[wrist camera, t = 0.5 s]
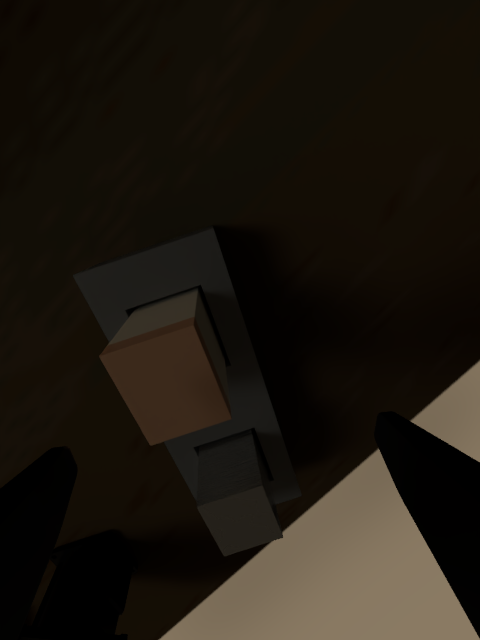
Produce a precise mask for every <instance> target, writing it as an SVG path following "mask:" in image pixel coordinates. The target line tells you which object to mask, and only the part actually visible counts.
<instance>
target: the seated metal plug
mask: <svg viewBox="0 0 480 640" xmlns="http://www.w3.org/2000/svg"><path fill="white" fill-rule="evenodd" d="M197 508H198V510H199V512H200V514H201V516H202V518H203V519H204V521H205V523H206V525H207V527H208V528H209V530H210V532H211V534H212V536H213V537H214V539H215V541H216V543H217V545H218V546H219V548H220V550H221V552H222V554H223V555H224V556H227V555H231V554H234V553H237V552H240V551H243V550H246V549H249V548H252V547H255V546H258V545H261V544H264V543H268V542H271V541H274V540H277V539H280V538H283V535H282V530H281V526H280V522H279V517H278V513H277V509H276V505H275V500H274V496H273V492H272V487H271V483H270V479H269V475H268V470H267V466H266V462H265V458H264V453H263V449H262V447H261V444H260V441H259V439H258V436H257V433H256V431H255V428H251V429H248V430H245V431H242V432H239V433H236V434H233V435H230V436H227V437H224V438H221V439H218V440H215V441H212V442H209V443H205V444H202V445H199V458H198V485H197Z"/></svg>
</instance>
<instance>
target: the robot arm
mask: <svg viewBox="0 0 480 640" xmlns="http://www.w3.org/2000/svg"><path fill="white" fill-rule="evenodd" d="M374 436H375V440H376V443H377V445H378V447H379V450H380V452H381V454H382V456H383V459H384V461H385V463H386V465H387V468H388V470H389V472H390V474H391V477H392V479H393V481H394V483H395V486H396V488H397V490H398V492H399V494H400V496H401V498H402V500H403V502H404V504H405V505H406V507H407V509H408V511H409V513H410V514H411V516H412V518H413V520H414V522H415V523H416V525H417V527H418V529H419V531H420V532H421V534H422V536H423V538H424V540H425V541H426V543H427V545H428V547H429V548H430V550H431V552H432V554H433V556H434V557H435V559H436V561H437V563H438V565H439V566H440V568H441V570H442V572H443V574H444V575H445V577H446V578H447V581H448V583H449V584H450V586H451V588H452V590H453V591H454V593H455V595H456V597H457V599H458V600H459V602H460V604H461V606H462V608H463V609H464V611H465V613H466V615H467V616H468V618H469V620H470V622H471V623H472V626H473V627H474V629H475V631H476V632H477V635H478V636H479V638H480V462H478V461H476V460H475V459H473V458H471V457H470V456H468V455H466V454H464V453H463V452H461V451H459V450H458V449H456V448H454V447H453V446H451V445H449V444H448V443H446V442H444V441H442V440H441V439H439V438H437V437H436V436H434V435H432V434H431V433H429V432H427V431H426V430H424V429H422V428H420V427H419V426H417V425H415V424H414V423H412V422H410V421H409V420H407V419H405V418H404V417H402V416H400V415H399V414H397V413H395V412H392V411H390V412H381V413H379V414H378V416H377V421H376V426H375V432H374ZM76 476H77V464H76V462H75V460H74V458H73V455H72V453H71V451H70V449H69V448H68V447H66V446H64V447H54V448H51V449H50V450H48V451H47V452H46V453H44V454H43V455H42V456H41V457H39V458H38V459H37V460H36V461H34V462H33V463H32V464H31V465H29V466H28V467H27V468H26V469H24V470H23V471H22V472H21V473H19V474H18V475H17V476H16V477H14V478H13V479H12V480H11V481H9V482H8V483H7V484H6V485H4V486H3V487H2V488H1V489H0V640H127V636H128V635H127V634H121V635H115V630H116V626H117V621H118V617H119V615H122V613H123V611H124V608H125V603H126V598H127V594H128V589H129V584H130V579H131V575H132V574H135V573H136V572H137V570H138V565H137V563H136V562H135V561H134V560H133V558H132V557H131V556H130V554H129V553H128V552H127V550H126V549H125V548H124V546H123V545H122V544H121V543H120V541H119V540H118V539H117V537H116V536H115V535H114V533H112V532H106V533H102V534H99V535H96V536H93V537H90V538H87V539H84V540H81V541H78V542H75V543H72V544H69V545H66V546H63V547H60V548H56V549H54V547H55V544H56V541H57V539H58V536H59V533H60V530H61V527H62V524H63V520H64V517H65V514H66V510H67V507H68V503H69V500H70V497H71V493H72V490H73V486H74V483H75V480H76ZM49 559H50V560H51V561H52V562H53V563H54V564H55V565H56V566H57V568H56V570H55V572H54V575H53V577H52V579H51V582H50V584H49V586H48V589H47V591H46V593H45V596H44V598H43V600H42V603H41V605H40V607H39V610H38V612H37V614H36V617H35V619H34V621H33V624H32V626H27V624H24V622H25V620H26V617H27V615H28V612H29V610H30V607H31V605H32V602H33V600H34V597H35V594H36V592H37V589H38V587H39V584H40V582H41V579H42V577H43V574H44V572H45V569H46V567H47V564H48V562H49Z"/></svg>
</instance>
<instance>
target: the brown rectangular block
mask: <svg viewBox="0 0 480 640" xmlns="http://www.w3.org/2000/svg"><path fill="white" fill-rule="evenodd" d="M99 357H100V359H101V361H102V362H103V364H104V366H105V368H106V369H107V371H108V373H109V374H110V376H111V378H112V380H113V381H114V383H115V385H116V387H117V388H118V390H119V392H120V394H121V395H122V397H123V399H124V401H125V402H126V404H127V406H128V407H129V409H130V411H131V413H132V414H133V416H134V418H135V420H136V421H137V423H138V425H139V427H140V428H141V430H142V432H143V434H144V435H145V437H146V439H147V441H148V442H149V444H150V446H151V445H154V444H157V443H161V442H164V441H167V440H170V439H173V438H176V437H179V436H182V435H185V434H188V433H191V432H194V431H197V430H200V429H203V428H206V427H209V426H212V425H215V424H218V423H221V422H224V421H227V420H230V419H232V416H231V408H230V399H229V391H228V383H227V374H226V366H225V357H224V349H223V342H222V340H221V337H220V334H219V332H218V329H217V326H216V324H215V321H214V318H213V316H212V313H211V310H210V308H209V305H208V302H207V300H206V297H205V294H204V292H203V289H202V286H201V285H199V286H196V287H193V288H190V289H187V290H184V291H181V292H178V293H175V294H172V295H169V296H166V297H163V298H160V299H157V300H154V301H151V302H148V303H145V304H142V305H139V306H137V307H136V309H135V310H134V311H133V313H132V314H131V315H130V317H129V318H128V319H127V321H126V322H125V323H124V324H123V326H122V327H121V328H120V330H119V331H118V332H117V334H116V335H115V336H114V338H113V339H112V340H111V341H110V343H109V344H108V345H107V347H106V348H105V349H104V351H103V352H102V353H101V355H100V356H99Z"/></svg>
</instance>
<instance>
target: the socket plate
mask: <svg viewBox="0 0 480 640" xmlns="http://www.w3.org/2000/svg"><path fill="white" fill-rule="evenodd" d="M73 277H74V279H75V280H76V282H77V284H78V286H79V288H80V290H81V291H82V293H83V295H84V297H85V299H86V301H87V302H88V304H89V306H90V308H91V310H92V311H93V313H94V315H95V317H96V319H97V321H98V322H99V324H100V326H101V328H102V330H103V332H104V333H105V335H106V337H107V339H108V341H109V343H110V341H111V340H112V339H113V338H114V336H115V335H116V334H117V332H118V331H119V330H120V328H121V327H122V326H123V324H124V323H125V322H126V321H127V319H128V318H129V317H130V315H131V314H132V313H133V311H134V310H135V309H136V307H137V306H139V305H142V304H145V303H148V302H151V301H154V300H157V299H160V298H163V297H166V296H169V295H172V294H175V293H178V292H181V291H184V290H187V289H190V288H193V287H196V286H199V285H201V286H202V289H203V292H204V294H205V297H206V300H207V302H208V305H209V308H210V310H211V313H212V316H213V318H214V321H215V324H216V326H217V329H218V332H219V334H220V337H221V340H222V342H223V349H224V357H225V366H226V374H227V383H228V391H229V399H230V408H231V416H232V419H230V420H227V421H224V422H221V423H218V424H215V425H212V426H209V427H206V428H203V429H200V430H197V431H194V432H191V433H188V434H185V435H182V436H179V437H176V438H173V439H170V440H167V441H164V443H165V445H166V447H167V448H168V450H169V452H170V454H171V456H172V458H173V459H174V461H175V463H176V465H177V467H178V469H179V470H180V472H181V474H182V476H183V478H184V480H185V481H186V483H187V485H188V487H189V489H190V491H191V492H192V494H193V496H194V498H195V500H196V501H197V485H198V458H199V445H202V444H205V443H209V442H212V441H215V440H218V439H221V438H224V437H227V436H230V435H233V434H236V433H239V432H242V431H245V430H248V429H251V428H255V431H256V433H257V436H258V439H259V441H260V444H261V447H262V449H263V453H264V458H265V462H266V466H267V470H268V475H269V479H270V483H271V487H272V492H273V496H274V500H275V504H278V503H281V502H284V501H288V500H291V499H294V498H297V497H300V496H302V494H301V491H300V488H299V485H298V482H297V479H296V476H295V473H294V470H293V467H292V464H291V461H290V458H289V455H288V452H287V449H286V446H285V443H284V440H283V437H282V434H281V431H280V428H279V425H278V422H277V419H276V416H275V413H274V410H273V407H272V404H271V401H270V398H269V395H268V392H267V389H266V386H265V383H264V380H263V377H262V373H261V370H260V367H259V364H258V361H257V358H256V355H255V352H254V349H253V346H252V343H251V340H250V337H249V334H248V331H247V328H246V325H245V322H244V319H243V316H242V313H241V310H240V307H239V304H238V301H237V298H236V295H235V292H234V289H233V286H232V283H231V280H230V277H229V274H228V271H227V268H226V265H225V262H224V259H223V255H222V252H221V249H220V246H219V243H218V240H217V237H216V234H215V231H214V228H213V226H209V227H206V228H203V229H200V230H197V231H194V232H191V233H188V234H185V235H182V236H179V237H176V238H173V239H170V240H167V241H164V242H161V243H158V244H155V245H152V246H149V247H146V248H143V249H140V250H137V251H134V252H131V253H128V254H125V255H123V256H120V257H117V258H114V259H111V260H108V261H105V262H102V263H99V264H97V265H94V266H92V267H90V268H88V269H86V270H83V271H81V272H79V273H77V274H74V275H73Z"/></svg>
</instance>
